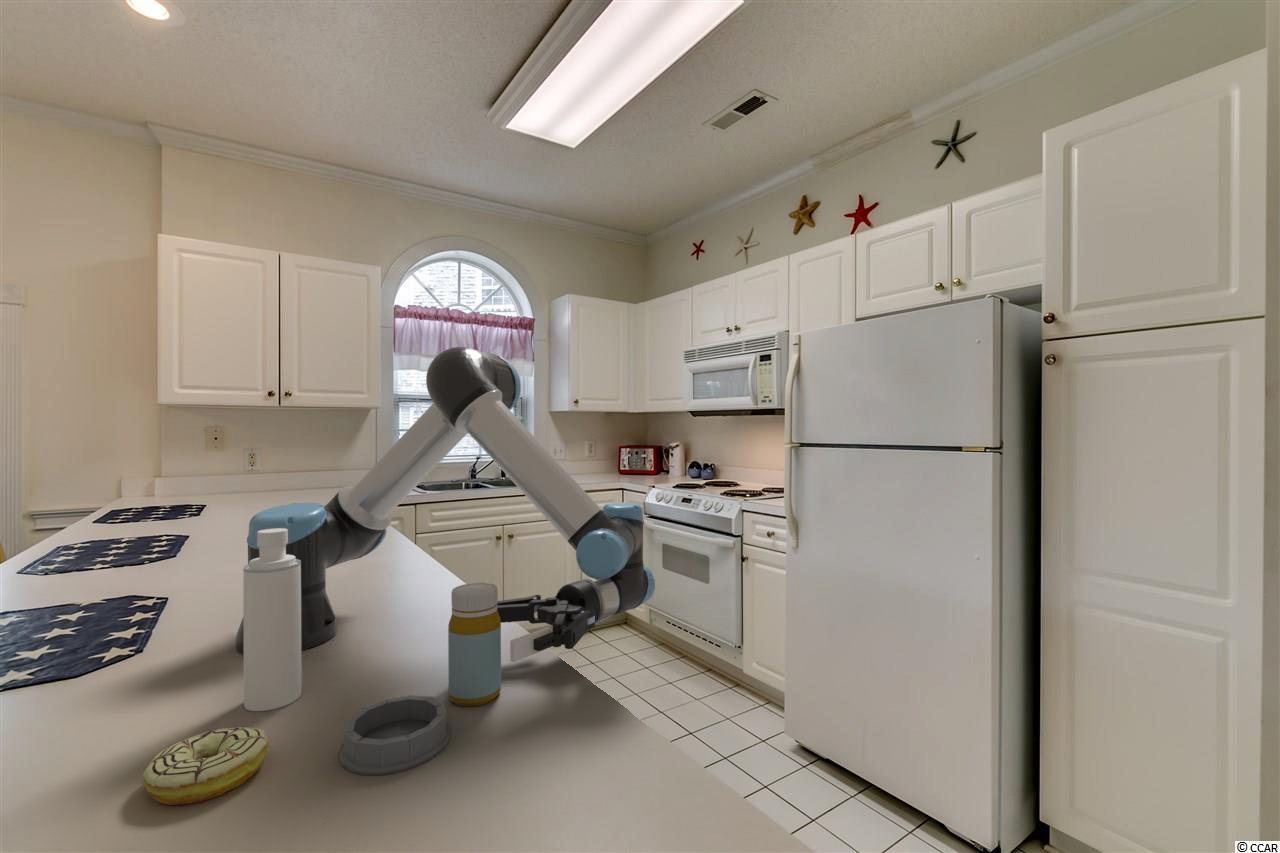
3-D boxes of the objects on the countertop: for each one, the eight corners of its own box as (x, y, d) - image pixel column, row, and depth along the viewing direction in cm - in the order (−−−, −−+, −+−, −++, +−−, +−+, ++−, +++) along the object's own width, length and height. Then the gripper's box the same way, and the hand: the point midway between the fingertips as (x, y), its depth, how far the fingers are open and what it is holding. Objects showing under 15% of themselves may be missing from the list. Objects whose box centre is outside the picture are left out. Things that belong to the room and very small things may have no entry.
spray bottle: (239, 716, 74) (239, 524, 74) (247, 694, 80) (247, 517, 80) (299, 704, 77) (299, 520, 77) (303, 684, 83) (302, 513, 83)
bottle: (486, 710, 75) (486, 597, 75) (438, 705, 76) (438, 594, 76) (509, 686, 82) (508, 583, 82) (464, 682, 83) (464, 580, 83)
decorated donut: (223, 745, 68) (223, 713, 68) (290, 761, 64) (290, 728, 64) (118, 799, 58) (118, 762, 58) (191, 822, 54) (191, 782, 54)
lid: (321, 748, 66) (321, 722, 66) (417, 708, 76) (416, 685, 76) (370, 789, 59) (370, 759, 59) (470, 739, 68) (470, 713, 68)
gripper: (644, 641, 88) (541, 691, 72) (536, 609, 104) (431, 645, 87) (644, 593, 88) (541, 632, 72) (536, 568, 104) (431, 596, 87)
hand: (480, 639), depth 79 cm, fingers open, 13 cm apart
